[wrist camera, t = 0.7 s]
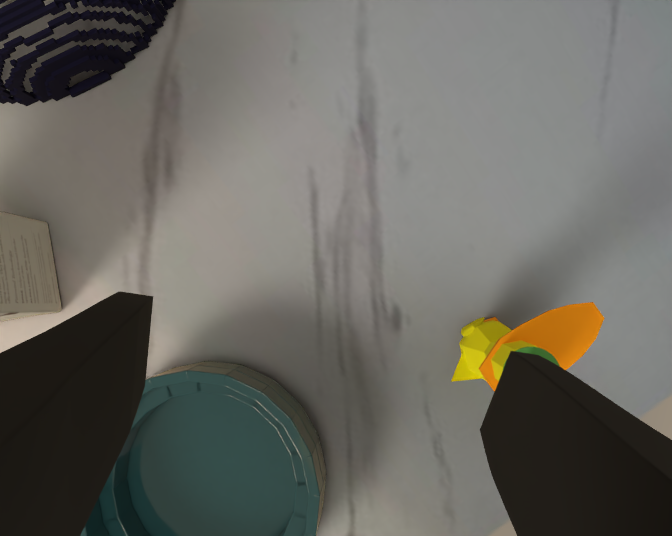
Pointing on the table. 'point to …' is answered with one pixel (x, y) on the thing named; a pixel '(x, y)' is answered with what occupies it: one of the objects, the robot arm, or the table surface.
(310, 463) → the glazed bowl
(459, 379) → the toy figure
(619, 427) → the robot arm
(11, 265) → the cosmetic box
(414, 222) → the table surface
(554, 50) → the table surface
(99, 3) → the decorative bowl
